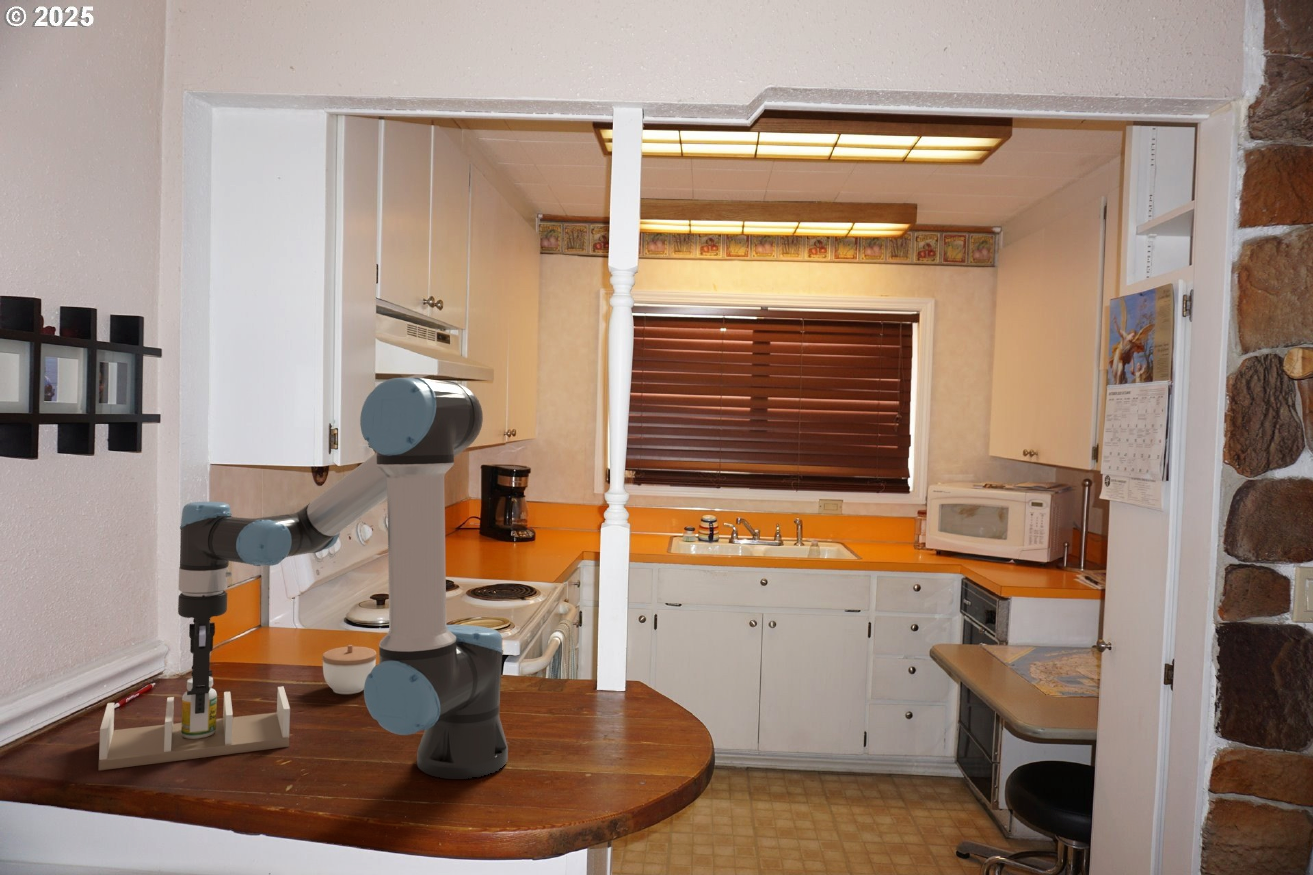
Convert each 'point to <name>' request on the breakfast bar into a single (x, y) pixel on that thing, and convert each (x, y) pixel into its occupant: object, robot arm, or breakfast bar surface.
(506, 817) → the breakfast bar surface
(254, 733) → the rack
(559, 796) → the breakfast bar surface
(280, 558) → the robot arm
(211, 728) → the supplement bottle
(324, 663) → the lidded jar
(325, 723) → the breakfast bar surface
